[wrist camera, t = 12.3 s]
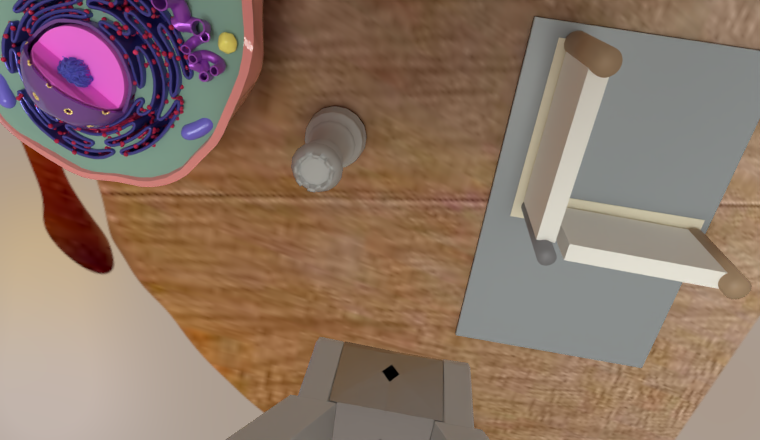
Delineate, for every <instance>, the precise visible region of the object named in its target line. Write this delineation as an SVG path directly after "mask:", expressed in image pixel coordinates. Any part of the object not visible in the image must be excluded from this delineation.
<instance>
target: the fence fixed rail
mask: <svg viewBox="0 0 760 440" xmlns="http://www.w3.org/2000/svg"><path fill="white" fill-rule="evenodd" d="M564 49H565V51H566V54H565V57H564V61H563V64H562V68H561V71H560V75H559V78H558V82H557V85H556V89H555V92H554V96H553V100H552V103H551V107H550V110H549V114H548V117H547V121H546V124H545V128H544V131H543V135H542V138H541V142H540V145H539V149H538V153H537V156H536V160H535V163H534V167H533V170H532V174H531V177H530V181H529V184H528V188H527V191H526V195H525V198H524V202H523V203H522V206H521V209H522V212H523V216H524V219H525V222H526V225H527V229H528V232H529V235H530V238H531V242H532V245H533V248H534V252H535V255H536V258H537V261H538V262H539V263H540V264H541V265H544V266H548V265H551V264H553V263H554V262H555V261H556V259H557V255H556V252H555V249H554V247H553V244H552V242H553V243H555V242H556V238H557V235H558V232H559V229H560V226H561V223H562V220H563V217H564V214H565V211H566V208H567V205H568V202H569V199H570V196H571V192H572V189H573V186H574V183H575V180H576V177H577V174H578V171H579V168H580V165H581V162H582V159H583V156H584V153H585V150H586V147H587V143H588V140H589V137H590V134H591V131H592V128H593V125H594V122H595V119H596V116H597V113H598V110H599V107H600V104H601V101H602V97H603V94H604V91H605V88H606V85H607V82H608V79H609V77H610V76H612V75H614V74H616V73H617V72H618V71H619V69H620V68H621V65H622V61H623V58H622V54H621V52H620V51H619V50H618V49H617V48H615V47H613V46H611V45H609V44H607V43H605V42H603V41H601V40H599V39H597V38H595V37H593V36H591V35H589V34H587V33H585V32H583V31H579V30H578V31H573V32H571V33H570V34H569V35H568V36H567V37H566V39H565V42H564Z"/></svg>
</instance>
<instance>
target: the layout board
mask: <svg viewBox="0 0 760 440" xmlns="http://www.w3.org/2000/svg"><path fill="white" fill-rule="evenodd" d="M578 30H579V31H583V32H585V33H587V34H589V35H591V36H593V37H595V38H597V39H599V40H601V41H603V42H605V43H607V44H609V45H611V46H613V47H615V48H617V49H618V50H619V51H620V52H621V54H622V58H623V61H622V65H621V68H620V69H619V71H618V72H617V73H616V74H614V75H612V76H610V77H609V79H608V82H607V85H606V88H605V91H604V94H603V97H602V101H601V104H600V107H599V110H598V113H597V116H596V119H595V122H594V125H593V128H592V131H591V134H590V137H589V140H588V143H587V147H586V150H585V153H584V156H583V159H582V162H581V165H580V168H579V171H578V174H577V177H576V180H575V183H574V186H573V189H572V192H571V196H570V199H569V202H568V205H567V208H572V209H577V210H583V211H589V212H594V213H600V214H605V215H611V216H616V217H622V218H627V219H633V220H638V221H644V222H649V223H655V224H660V225H666V226H672V227H677V228H683V229H692V228H697V229H700V230H701V231H702V232H703V233H704V234H705V233H706V231H707V229H708V227H709V225H710V223H711V221H712V218H713V216H714V214H715V212H716V210H717V208H718V206H719V204H720V201H721V199H722V197H723V195H724V193H725V191H726V189H727V187H728V185H729V182H730V180H731V178H732V176H733V174H734V172H735V170H736V168H737V165H738V163H739V161H740V159H741V157H742V155H743V153H744V151H745V149H746V146H747V144H748V142H749V140H750V138H751V136H752V134H753V132H754V130H755V127H756V125H757V123H758V121H759V119H760V50H754V49H747V48H741V47H734V46H727V45H721V44H714V43H707V42H701V41H694V40H688V39H681V38H674V37H668V36H661V35H654V34H648V33H641V32H635V31H628V30H621V29H615V28H608V27H602V26H595V25H588V24H582V23H575V22H568V21H562V20H555V19H549V18H542V17H535V16H534V19H533V23H532V28H531V32H530V36H529V40H528V44H527V48H526V52H525V56H524V60H523V64H522V68H521V72H520V76H519V80H518V84H517V88H516V92H515V96H514V100H513V104H512V108H511V112H510V116H509V120H508V124H507V128H506V132H505V136H504V140H503V144H502V148H501V152H500V156H499V160H498V164H497V168H496V172H495V176H494V180H493V184H492V188H491V192H490V196H489V200H488V204H487V208H486V212H485V216H484V220H483V224H482V228H481V232H480V236H479V240H478V244H477V248H476V252H475V256H474V260H473V264H472V268H471V272H470V276H469V280H468V284H467V288H466V292H465V296H464V301H463V305H462V309H461V313H460V317H459V321H458V325H457V329H456V335H458V336H464V337H469V338H475V339H481V340H486V341H492V342H498V343H503V344H509V345H515V346H520V347H526V348H532V349H537V350H543V351H549V352H554V353H560V354H565V355H571V356H577V357H582V358H588V359H594V360H599V361H605V362H611V363H616V364H622V365H628V366H633V367H639V368H642V367H643V364H644V362H645V360H646V358H647V356H648V354H649V352H650V350H651V348H652V345H653V343H654V341H655V339H656V337H657V335H658V333H659V331H660V329H661V326H662V324H663V322H664V320H665V318H666V316H667V314H668V312H669V309H670V307H671V305H672V303H673V301H674V299H675V297H676V295H677V293H678V290H679V288H680V286H681V284H682V282H680V281H675V280H669V279H664V278H658V277H653V276H647V275H642V274H636V273H631V272H626V271H620V270H615V269H609V268H604V267H598V266H593V265H588V264H582V263H577V262H571V261H566V260H564V259H563V256H562V254H561V251H560V249H559V246H558V244H557V241H556V242H555V243H553V242H552V244H553V247H554V249H555V252H556V255H557V259H556V261H555V262H554V263H553V264H551V265H548V266H544V265H541V264H540V263H539V262H538V261H537V258H536V255H535V252H534V248H533V245H532V242H531V238H530V235H529V232H528V229H527V225H526V222H525V219H524V216H523V212H522V209H521V206H522V203H523V202H524V198H525V195H526V191H527V188H528V184H529V181H530V177H531V174H532V170H533V167H534V163H535V160H536V156H537V153H538V149H539V145H540V142H541V138H542V135H543V131H544V128H545V124H546V121H547V117H548V114H549V110H550V107H551V103H552V100H553V96H554V92H555V89H556V85H557V82H558V78H559V75H560V71H561V68H562V64H563V61H564V57H565V54H566V51H565V49H564V42H565V39H566V37H567V36H568V35H569V34H570V33H571V32H573V31H578Z"/></svg>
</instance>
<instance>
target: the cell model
mask: <svg viewBox="0 0 760 440" xmlns="http://www.w3.org/2000/svg"><path fill="white" fill-rule="evenodd" d="M263 1H264V0H0V123H1V124H2V125H4V127H5V128H7V130H8V131H9V132H11V133H12V134H13V135H14V136H16V137H17V138H18V139H19V140H21V141H22V142H23V143H25V144H26V145H28V146H29V147H31V148H32V149H34V150H35V151H37V152H38V153H40V154H41V155H43V156H45V157H46V158H48V159H49V160H51V161H53V162H54V163H56V164H58V165H59V166H61V167H63V168H64V169H66V170H68V171H70V172H72V173H74V174H77V175H79V176H81V177H85V178H90V179H95V180H105V181H116V182H121V183H126V184H131V185H135V186H140V187H156V186H162V185H167V184H169V183H172V182H175V181H177V180H179V179H181V178H182V177H184V176H186V175H187V174H188V173H189V172H190V171H191V170H192V169H193V168H194V167H195V166H196V165H197V164H198V163H199V162H200V161H201V160H202V159H203V158H204V157H205V156H206V155H207V154H208V153H209V152H210V151H211V150H212V149H213V148H214V147H215V146H216V145H217V144H218V142H219V140H220V139H221V137H222V135H223V134H224V131H225V129H226V127H227V125H228V123H229V122H230V121H231V120H232V118H233V117H234V115H235V114H236V113H237V111H238V110H239V108H240V107H241V105H242V104H243V102H244V100H245V99H246V97H247V96H248V94H249V93H250V91H251V90H252V89H253V87H254V86H255V84H256V82H257V80H258V78H259V76H260V75H261V71H262V67H263V60H264V38H263Z"/></svg>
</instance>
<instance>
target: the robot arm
mask: <svg viewBox="0 0 760 440" xmlns="http://www.w3.org/2000/svg"><path fill="white" fill-rule="evenodd" d="M226 440H489V438H488V437H487V436H486V434H485V433H484V432H483V431H482V430H480V429H475V428H474V419H473V404H472V389H471V373H470V366H469V364H468V363H464V362H458V361H451V360H445V359H443V360H441V359H435V358H430V357H424V356H418V355H412V354H406V353H400V352H395V351H390V350H385V349H380V348H375V347H370V346H365V345H360V344H355V343H350V342H345V343H344V342H343V341H338V340H333V339H328V338H323V337H320V338H319V339H318V340H317V342H316V345H315V348H314V351H313V354H312V357H311V359H310V362H309V365H308V368H307V371H306V374H305V377H304V380H303V383H302V386H301V389H300V392H299V395H298V396H295V395H289V396H288V397H287V398H285V399H284V400H282V401H281V402H279V403H278V404H276V405H275V406H274V407H272V408H271V409H269V410H268V411H266V412H265V413H263V414H262V415H261V416H259V417H258V418H256V419H255V420H253V421H252V422H250V423H249V424H248V425H246V426H245V427H243V428H242V429H240V430H239V431H237V432H236V433H234V434H233V435H232V436H230V437H229V438H227V439H226Z"/></svg>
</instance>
